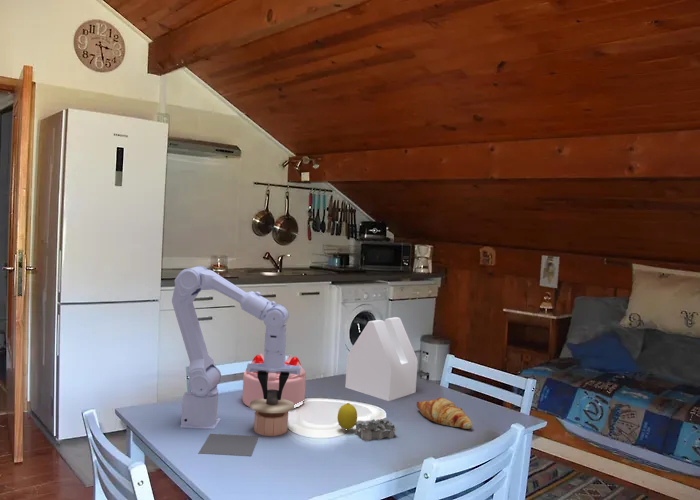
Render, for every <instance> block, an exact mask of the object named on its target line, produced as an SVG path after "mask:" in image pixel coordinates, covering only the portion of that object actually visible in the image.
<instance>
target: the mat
mask: <svg viewBox="0 0 700 500" xmlns="http://www.w3.org/2000/svg"><path fill="white" fill-rule="evenodd" d="M258 440H259V435H245V434H244V435H243V434H242V435H241V434H226V433H225V434H223V433H209V435H208V437H206V440H205V442H204V443H203V445H202V446H201V447H200V450H199V451H198V453H197V454H199V455H217V456H218V455H219V456H236V457H237V456H238V457H252V455H253V453H254V451H255V448H256V445H257V443H258Z"/></svg>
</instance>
